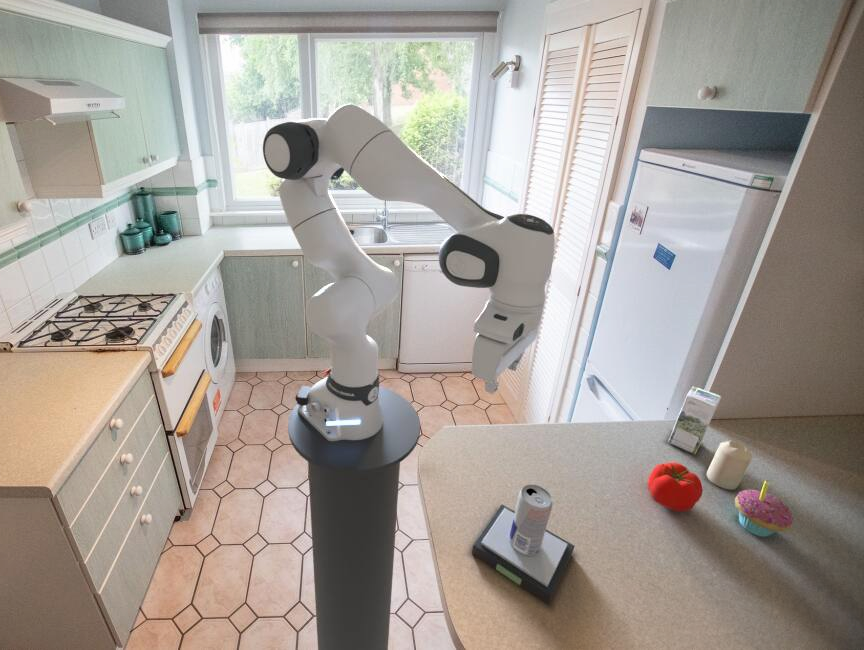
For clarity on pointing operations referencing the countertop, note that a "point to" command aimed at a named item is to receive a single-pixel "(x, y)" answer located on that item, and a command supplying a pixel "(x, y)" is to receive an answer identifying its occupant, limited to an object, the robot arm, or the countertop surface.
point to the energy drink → (530, 519)
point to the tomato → (674, 486)
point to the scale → (523, 556)
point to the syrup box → (694, 419)
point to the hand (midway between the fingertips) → (502, 379)
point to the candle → (729, 464)
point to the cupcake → (762, 512)
